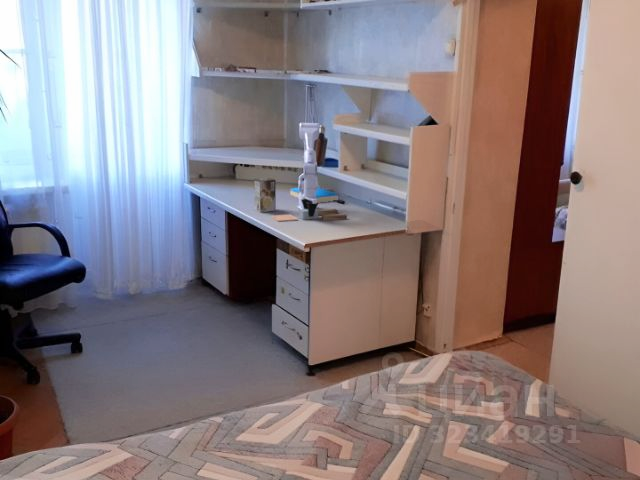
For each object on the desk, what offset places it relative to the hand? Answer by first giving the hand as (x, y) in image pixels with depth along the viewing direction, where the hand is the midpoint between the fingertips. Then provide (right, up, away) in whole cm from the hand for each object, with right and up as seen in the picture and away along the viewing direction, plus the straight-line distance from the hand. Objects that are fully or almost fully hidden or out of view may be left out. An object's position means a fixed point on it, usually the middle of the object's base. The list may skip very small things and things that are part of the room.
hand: (309, 215), depth 325 cm
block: (0, -1, 0) cm, 1 cm away
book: (+2, +11, +46) cm, 48 cm away
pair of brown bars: (+10, -1, +4) cm, 11 cm away
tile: (-12, -2, -2) cm, 12 cm away
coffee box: (-23, +3, +13) cm, 26 cm away
